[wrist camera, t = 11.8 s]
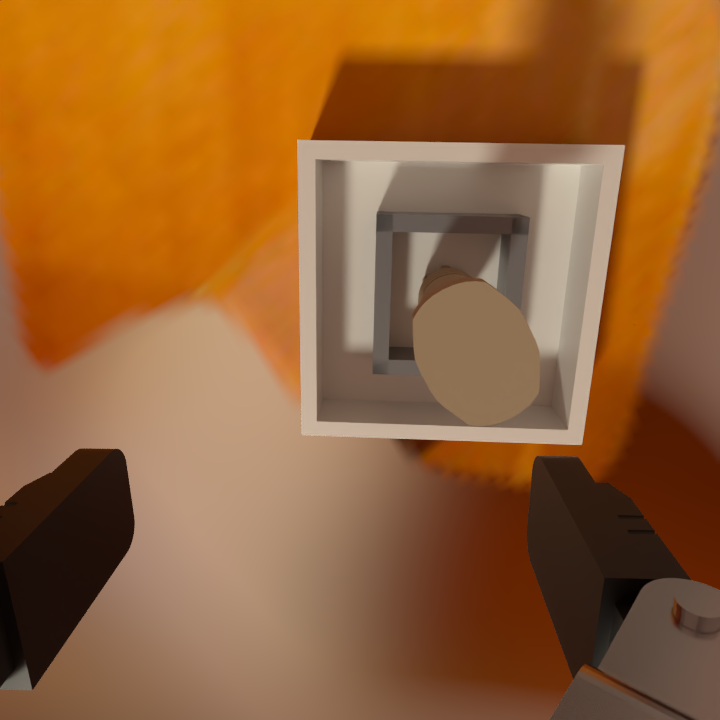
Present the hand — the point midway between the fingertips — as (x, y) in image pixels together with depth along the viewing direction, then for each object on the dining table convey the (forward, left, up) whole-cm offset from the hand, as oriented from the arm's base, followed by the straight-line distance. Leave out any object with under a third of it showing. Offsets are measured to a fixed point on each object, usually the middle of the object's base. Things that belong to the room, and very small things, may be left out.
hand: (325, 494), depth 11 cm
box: (+1, +5, -30) cm, 30 cm away
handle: (+1, +5, -29) cm, 29 cm away
